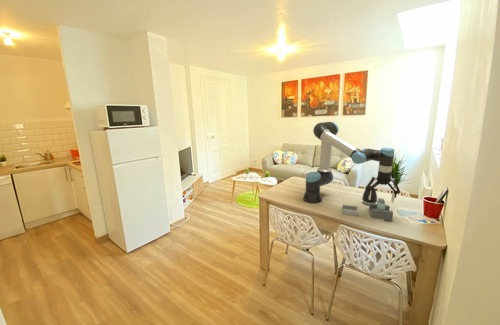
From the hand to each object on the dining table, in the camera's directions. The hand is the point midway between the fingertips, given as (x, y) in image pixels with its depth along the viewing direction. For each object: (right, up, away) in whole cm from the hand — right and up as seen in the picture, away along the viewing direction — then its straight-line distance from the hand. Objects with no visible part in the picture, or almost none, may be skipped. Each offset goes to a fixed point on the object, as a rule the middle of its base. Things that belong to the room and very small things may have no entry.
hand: (380, 200), depth 142 cm
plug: (+1, -11, +2) cm, 11 cm away
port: (+1, -11, +2) cm, 12 cm away
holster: (-17, -11, +8) cm, 22 cm away
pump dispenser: (+4, -7, +21) cm, 22 cm away
